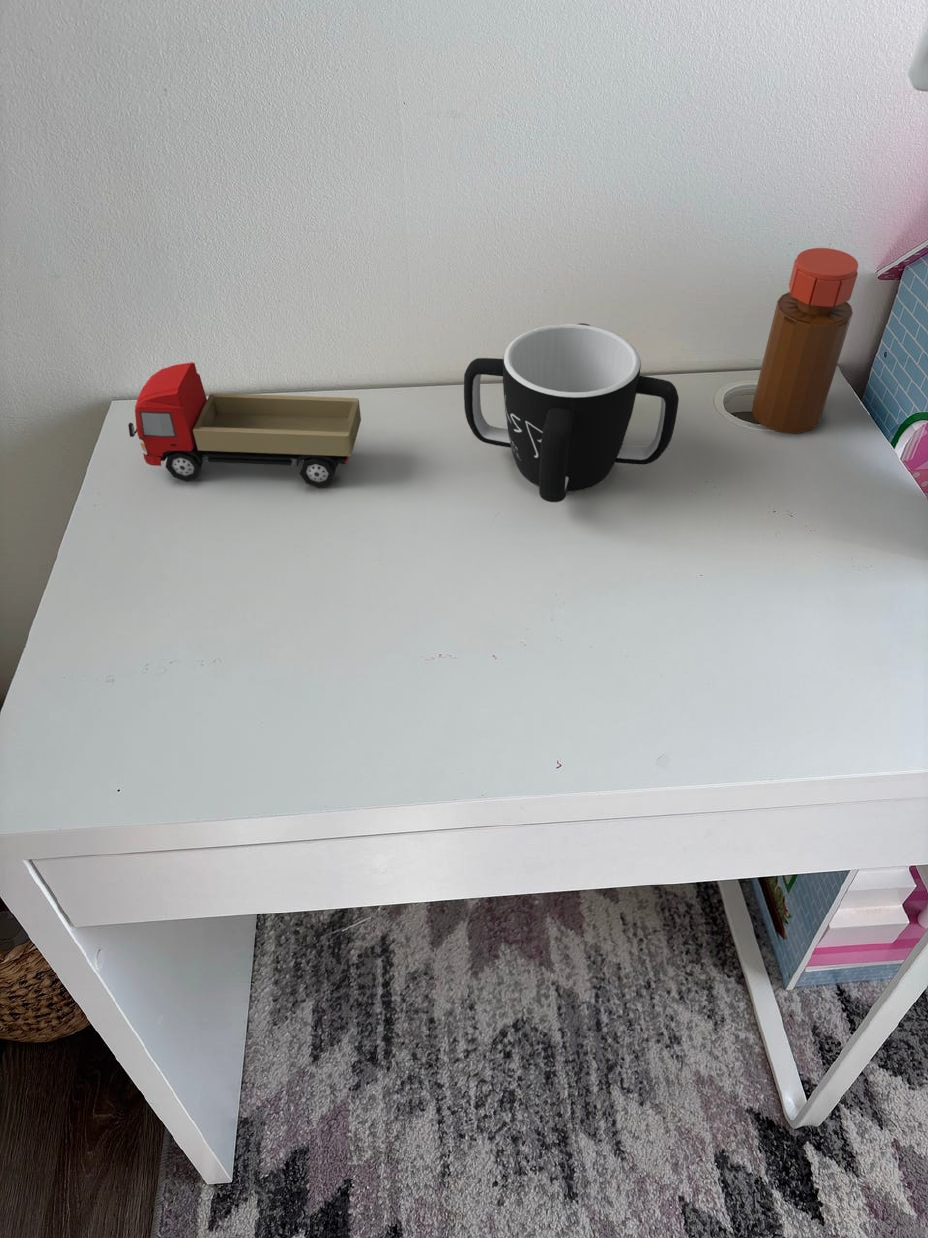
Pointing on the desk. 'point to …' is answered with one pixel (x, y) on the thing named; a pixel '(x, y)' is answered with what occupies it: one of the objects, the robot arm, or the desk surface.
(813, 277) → the cap
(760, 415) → the bottle
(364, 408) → the desk surface
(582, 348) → the mug
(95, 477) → the desk surface
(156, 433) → the toy truck
